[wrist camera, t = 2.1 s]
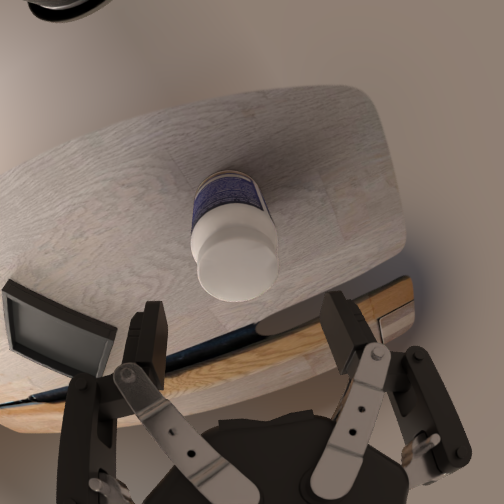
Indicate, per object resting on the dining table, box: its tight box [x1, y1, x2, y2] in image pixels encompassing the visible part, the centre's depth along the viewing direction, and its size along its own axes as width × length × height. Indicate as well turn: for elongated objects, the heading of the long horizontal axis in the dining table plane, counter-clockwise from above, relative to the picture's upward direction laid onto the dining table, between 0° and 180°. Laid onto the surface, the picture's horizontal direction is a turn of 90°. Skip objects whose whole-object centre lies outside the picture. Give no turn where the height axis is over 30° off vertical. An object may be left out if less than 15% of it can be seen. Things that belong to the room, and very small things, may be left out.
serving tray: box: [2, 280, 117, 378], centre depth 30 cm, size 16×14×2 cm
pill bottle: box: [191, 170, 280, 302], centre depth 20 cm, size 6×6×10 cm
